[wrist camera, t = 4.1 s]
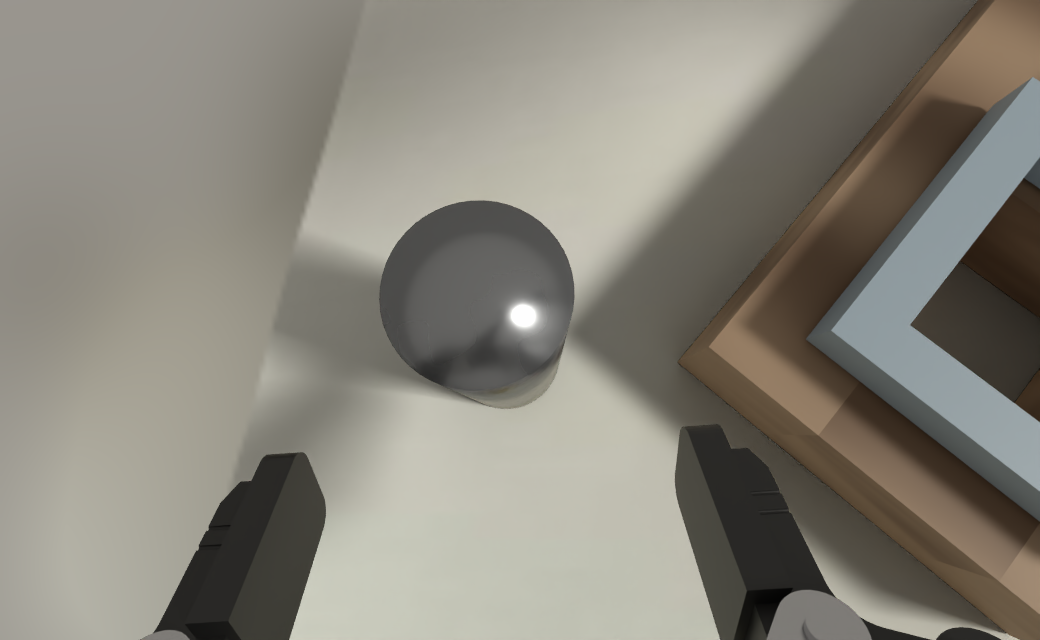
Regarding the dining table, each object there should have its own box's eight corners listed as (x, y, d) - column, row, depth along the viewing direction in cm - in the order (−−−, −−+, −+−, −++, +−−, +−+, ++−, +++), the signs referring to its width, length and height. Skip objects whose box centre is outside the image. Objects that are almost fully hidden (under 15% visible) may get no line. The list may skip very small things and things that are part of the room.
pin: (501, 283, 22) (469, 164, 12) (580, 350, 21) (614, 282, 11) (432, 360, 21) (339, 302, 12) (511, 431, 21) (483, 432, 11)
